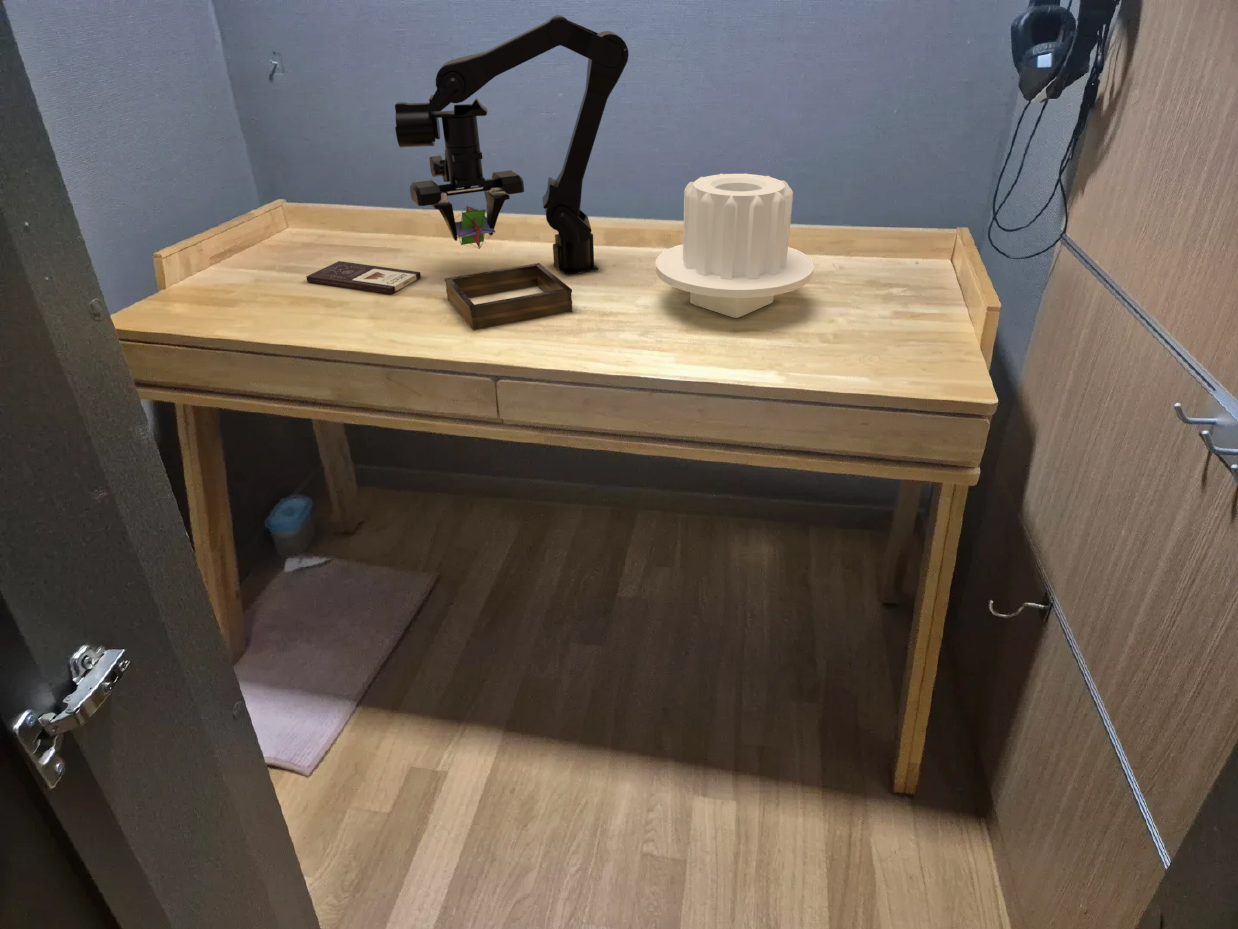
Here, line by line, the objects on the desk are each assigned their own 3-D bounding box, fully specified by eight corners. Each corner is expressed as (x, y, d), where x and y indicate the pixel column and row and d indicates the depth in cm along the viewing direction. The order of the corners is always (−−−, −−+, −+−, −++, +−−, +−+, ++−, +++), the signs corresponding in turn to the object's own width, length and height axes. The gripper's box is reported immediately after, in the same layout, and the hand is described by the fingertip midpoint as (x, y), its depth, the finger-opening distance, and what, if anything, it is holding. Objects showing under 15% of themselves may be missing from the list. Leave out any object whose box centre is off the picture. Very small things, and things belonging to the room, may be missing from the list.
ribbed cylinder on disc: (720, 267, 148) (726, 158, 138) (839, 301, 133) (855, 182, 123) (624, 304, 134) (622, 185, 124) (744, 347, 118) (754, 216, 108)
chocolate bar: (339, 260, 151) (420, 272, 145) (340, 265, 152) (421, 277, 146) (306, 276, 144) (389, 288, 138) (307, 281, 145) (390, 293, 139)
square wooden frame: (540, 283, 143) (539, 262, 141) (573, 311, 131) (572, 289, 129) (447, 299, 137) (444, 278, 135) (472, 330, 125) (470, 307, 123)
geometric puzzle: (502, 238, 141) (490, 194, 141) (465, 243, 138) (452, 199, 138) (492, 253, 148) (480, 211, 148) (456, 259, 145) (444, 216, 145)
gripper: (500, 131, 145) (508, 219, 154) (396, 142, 139) (410, 233, 147) (521, 141, 137) (528, 234, 145) (411, 154, 130) (425, 250, 138)
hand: (473, 237), depth 144 cm, fingers closed on geometric puzzle, 6 cm apart
